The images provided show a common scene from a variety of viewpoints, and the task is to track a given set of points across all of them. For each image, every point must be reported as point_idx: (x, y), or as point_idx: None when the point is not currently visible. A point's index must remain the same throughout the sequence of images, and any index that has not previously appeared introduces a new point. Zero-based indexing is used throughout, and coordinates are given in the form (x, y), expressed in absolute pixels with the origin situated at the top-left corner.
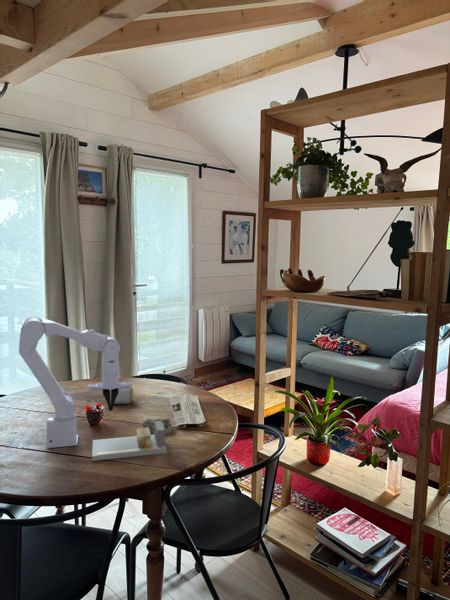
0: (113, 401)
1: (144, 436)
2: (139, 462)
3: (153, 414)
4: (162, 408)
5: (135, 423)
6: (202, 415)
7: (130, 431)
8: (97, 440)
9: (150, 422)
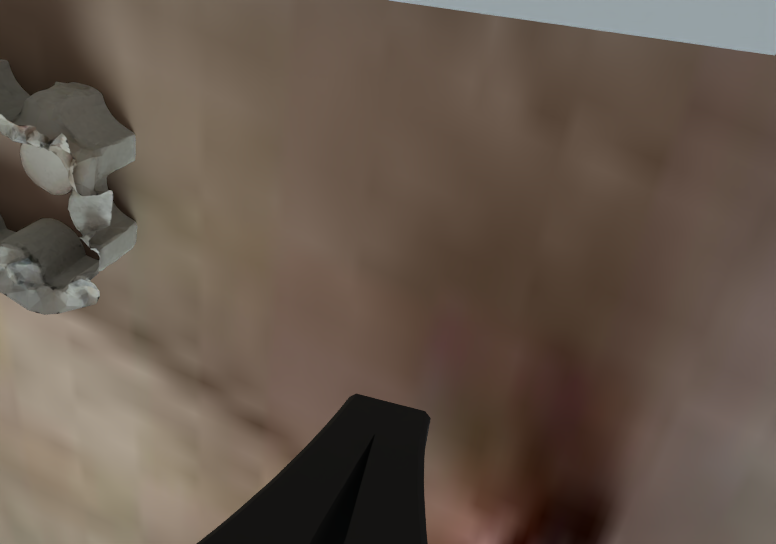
0: (244, 537)
1: None
2: None
3: (71, 462)
4: (19, 516)
5: (205, 379)
6: None
7: (255, 235)
8: (711, 16)
9: (28, 255)
